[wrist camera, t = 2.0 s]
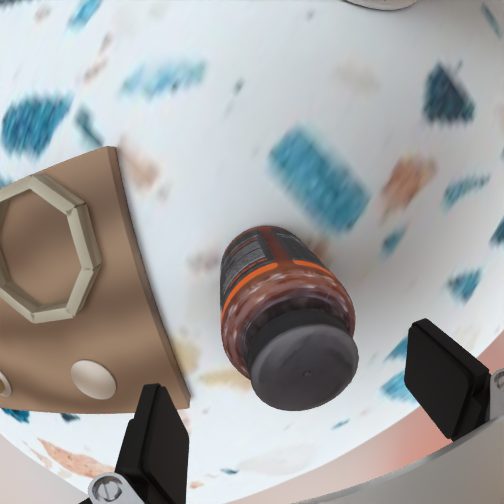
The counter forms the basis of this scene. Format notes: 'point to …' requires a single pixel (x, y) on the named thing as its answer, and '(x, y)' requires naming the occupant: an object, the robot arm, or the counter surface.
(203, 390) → the counter surface
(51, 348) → the board
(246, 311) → the supplement bottle
